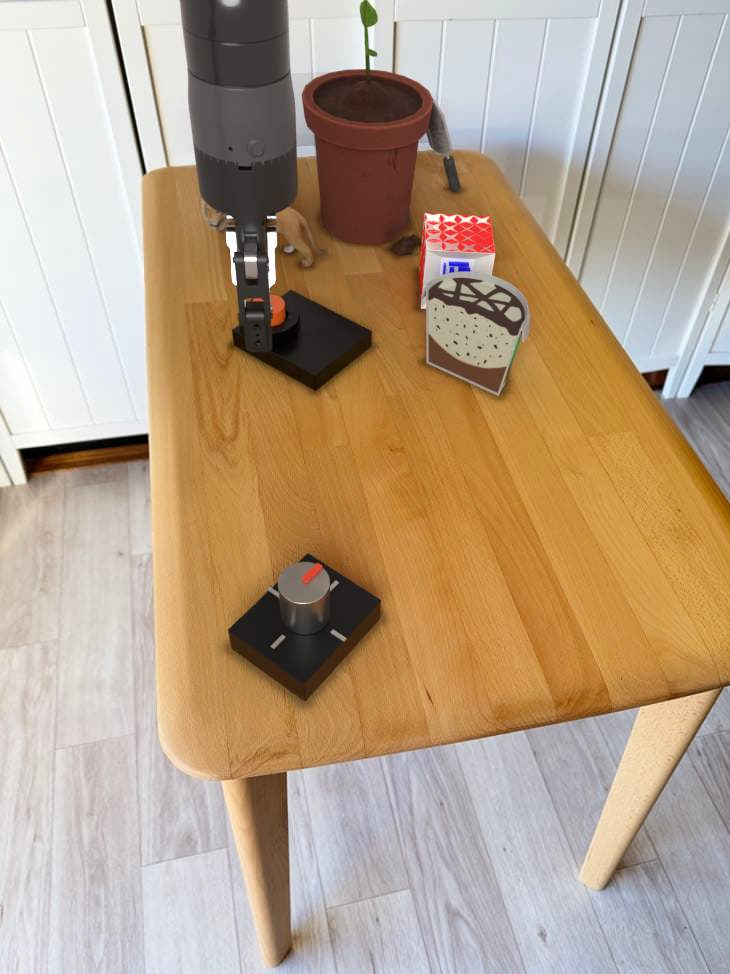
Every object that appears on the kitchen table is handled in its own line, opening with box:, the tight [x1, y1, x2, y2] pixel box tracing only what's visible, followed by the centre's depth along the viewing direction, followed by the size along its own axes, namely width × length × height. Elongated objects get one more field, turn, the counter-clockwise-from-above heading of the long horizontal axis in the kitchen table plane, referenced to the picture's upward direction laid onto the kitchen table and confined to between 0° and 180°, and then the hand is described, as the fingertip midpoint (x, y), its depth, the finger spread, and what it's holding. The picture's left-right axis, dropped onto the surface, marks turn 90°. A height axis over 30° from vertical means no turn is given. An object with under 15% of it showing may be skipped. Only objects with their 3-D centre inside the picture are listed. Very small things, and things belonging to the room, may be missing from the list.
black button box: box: [231, 289, 373, 392], centre depth 91 cm, size 10×12×4 cm
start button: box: [253, 293, 286, 326], centre depth 89 cm, size 4×4×2 cm
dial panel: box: [227, 552, 382, 702], centre depth 68 cm, size 10×8×3 cm
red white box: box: [418, 212, 496, 310], centre depth 98 cm, size 8×8×8 cm
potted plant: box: [301, 0, 461, 256], centre depth 100 cm, size 18×22×25 cm
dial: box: [277, 561, 330, 635], centre depth 65 cm, size 4×4×5 cm
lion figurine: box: [200, 196, 326, 268], centre depth 99 cm, size 15×5×9 cm, turn 98°
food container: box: [421, 271, 531, 397], centre depth 88 cm, size 12×6×10 cm, turn 58°
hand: (259, 319), depth 72 cm, fingers open, 8 cm apart
